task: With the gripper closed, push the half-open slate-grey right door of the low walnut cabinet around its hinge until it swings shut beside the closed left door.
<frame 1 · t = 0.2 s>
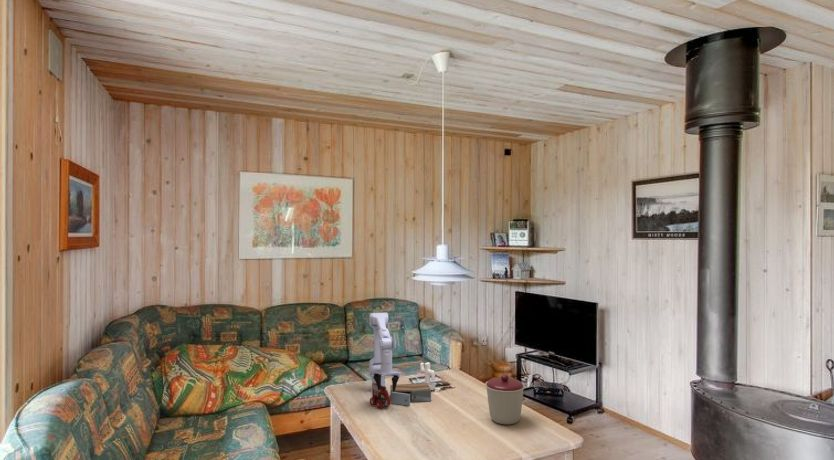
hand: (386, 390, 228), 10 cm above the table, tool pointing down, fingers open, 7 cm apart
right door: (400, 399, 234), point 3 cm above the table, hinge at 30.0°
cabinet: (410, 398, 244), on the table
canister: (505, 420, 214), on the table
figurine: (427, 390, 256), on the table
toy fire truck: (380, 406, 234), on the table
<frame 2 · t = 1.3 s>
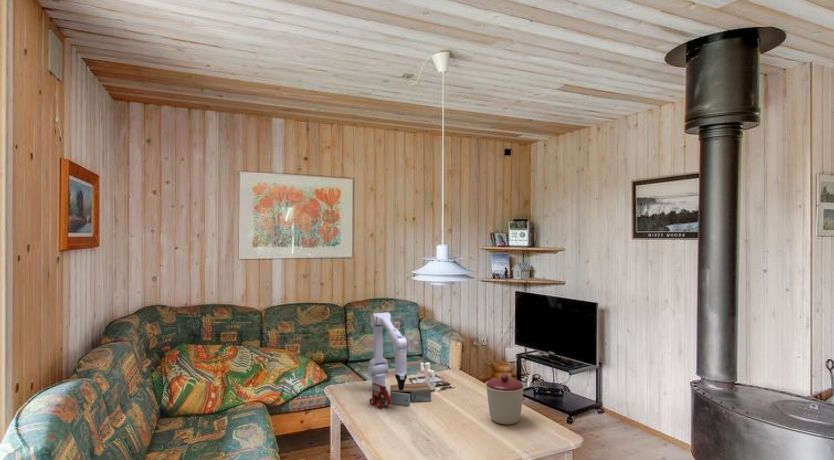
hand: (401, 389, 230), 9 cm above the table, tool pointing down, fingers closed
nothing on the table moved.
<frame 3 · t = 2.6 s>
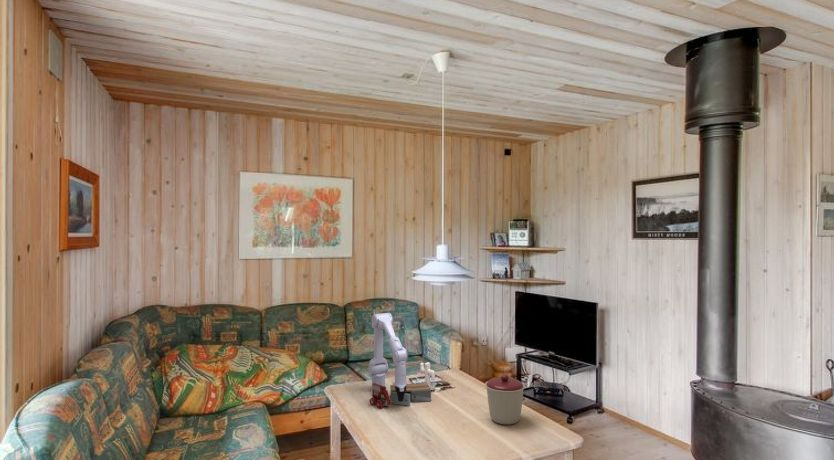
hand: (400, 401, 232), 3 cm above the table, tool pointing down, fingers closed
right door: (400, 399, 234), point 3 cm above the table, hinge at 29.3°, touching gripper
everything else where it was.
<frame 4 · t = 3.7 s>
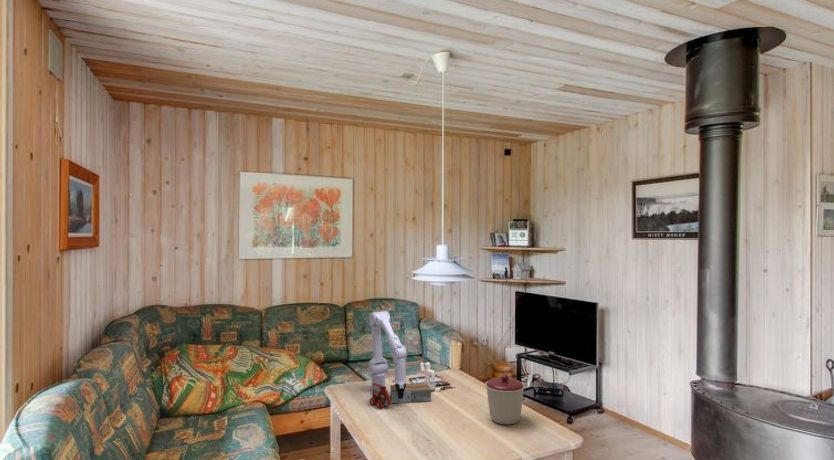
hand: (400, 398, 236), 3 cm above the table, tool pointing down, fingers closed
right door: (401, 397, 237), point 3 cm above the table, hinge at -0.9°, touching gripper
everything else where it was.
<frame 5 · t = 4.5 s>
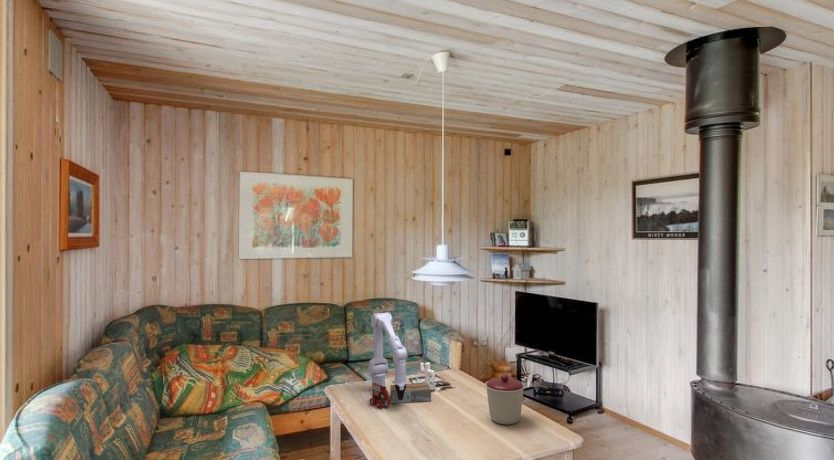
hand: (400, 399, 233), 3 cm above the table, tool pointing down, fingers closed
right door: (401, 397, 237), point 3 cm above the table, hinge at -1.0°
everything else where it was.
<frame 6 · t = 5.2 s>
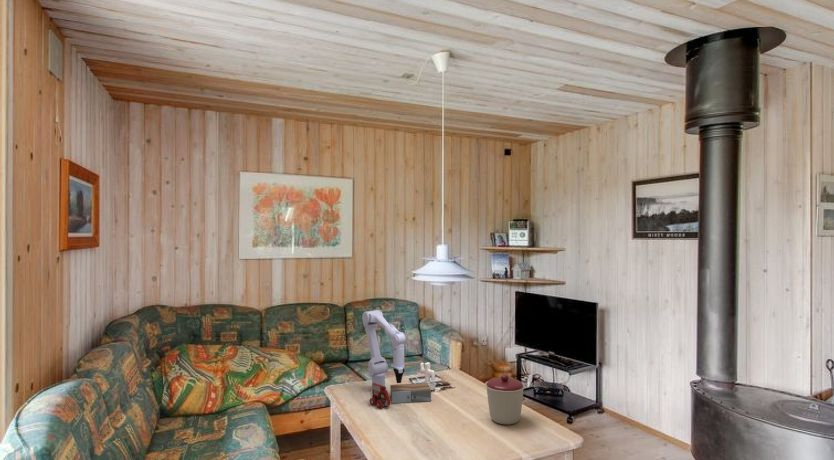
hand: (398, 382, 240), 9 cm above the table, tool pointing down, fingers closed
nothing on the table moved.
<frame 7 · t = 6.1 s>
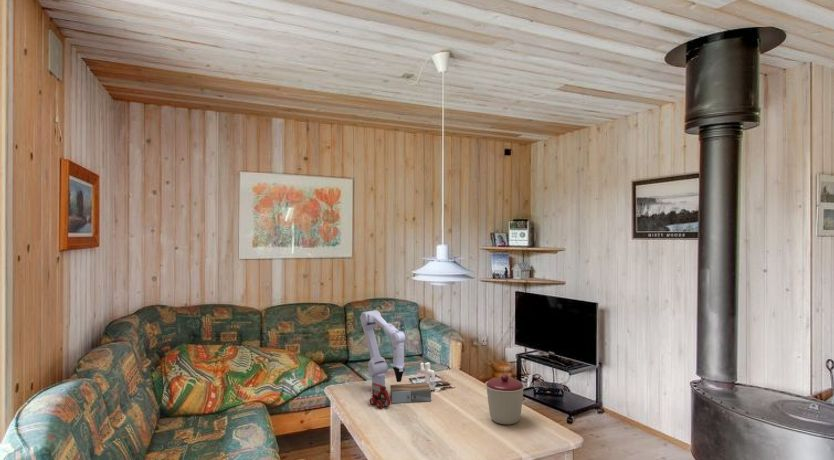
hand: (398, 381, 242), 9 cm above the table, tool pointing down, fingers closed
nothing on the table moved.
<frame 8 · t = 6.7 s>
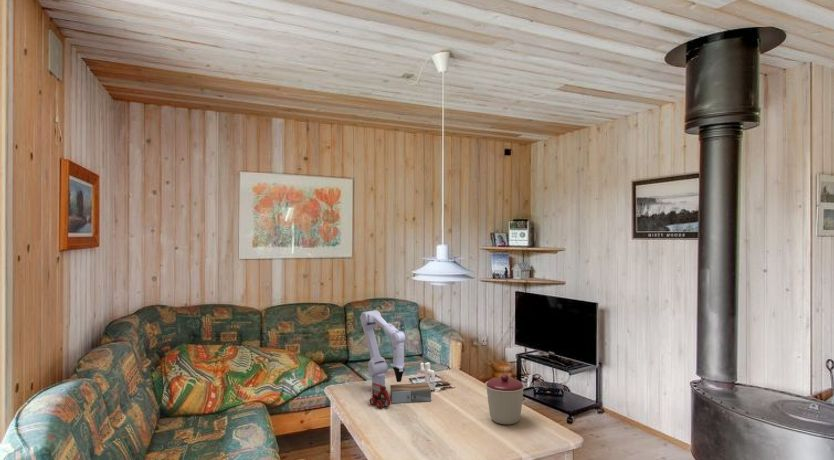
hand: (398, 381, 242), 9 cm above the table, tool pointing down, fingers closed
nothing on the table moved.
at the end: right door at -1° (first picture: +30°); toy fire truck moved 0.3 cm from its start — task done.
